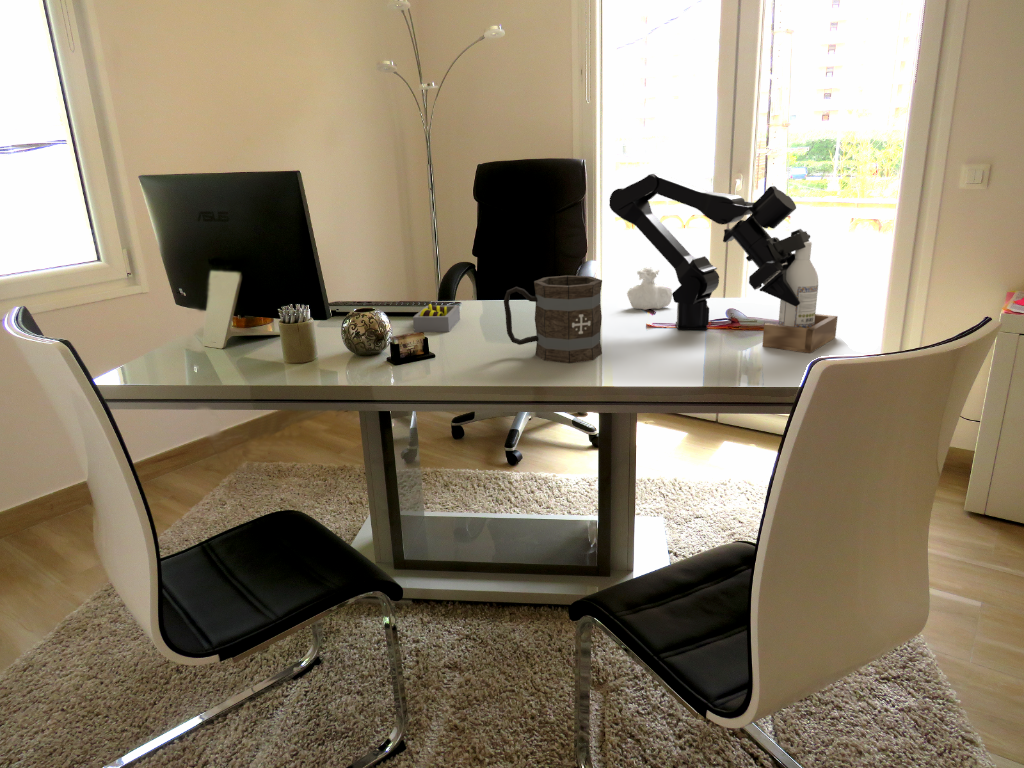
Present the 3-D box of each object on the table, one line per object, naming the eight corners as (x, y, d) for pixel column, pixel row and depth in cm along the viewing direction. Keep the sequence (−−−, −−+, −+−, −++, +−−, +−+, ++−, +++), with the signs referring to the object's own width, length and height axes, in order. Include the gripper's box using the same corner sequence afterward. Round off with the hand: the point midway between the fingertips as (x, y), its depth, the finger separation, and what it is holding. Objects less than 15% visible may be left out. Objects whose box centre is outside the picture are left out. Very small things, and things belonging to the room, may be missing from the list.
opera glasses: (441, 331, 172) (440, 310, 170) (419, 331, 172) (418, 310, 171) (449, 322, 181) (448, 302, 179) (429, 322, 181) (427, 302, 180)
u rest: (762, 346, 149) (764, 324, 148) (789, 331, 160) (791, 311, 159) (810, 353, 143) (812, 330, 142) (835, 337, 154) (837, 316, 153)
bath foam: (818, 337, 152) (828, 241, 146) (803, 344, 148) (813, 244, 141) (786, 332, 157) (795, 238, 151) (771, 338, 152) (779, 242, 146)
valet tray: (414, 331, 171) (413, 317, 170) (427, 319, 184) (426, 305, 183) (449, 331, 170) (448, 317, 169) (460, 319, 183) (459, 305, 181)
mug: (599, 345, 154) (600, 274, 150) (604, 362, 141) (604, 286, 137) (507, 346, 155) (505, 276, 151) (503, 364, 143) (500, 288, 138)
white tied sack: (670, 314, 191) (661, 276, 195) (679, 300, 184) (670, 262, 188) (625, 317, 190) (618, 278, 193) (633, 303, 183) (625, 264, 186)
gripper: (769, 221, 140) (822, 283, 137) (803, 213, 154) (852, 269, 150) (727, 259, 148) (777, 318, 144) (763, 248, 161) (809, 303, 158)
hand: (805, 301), depth 149 cm, fingers open, 8 cm apart
